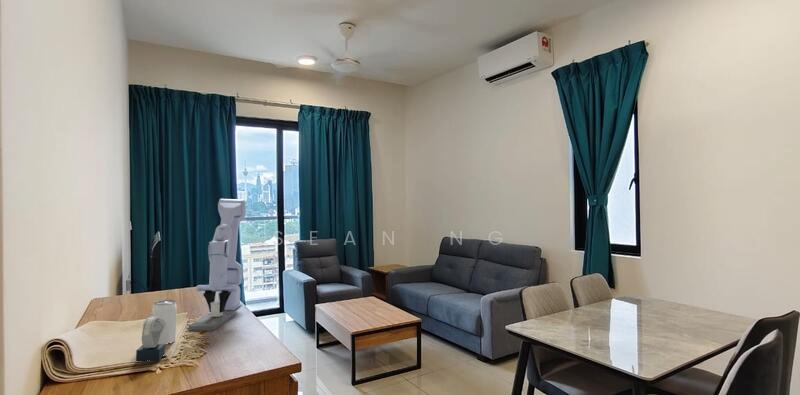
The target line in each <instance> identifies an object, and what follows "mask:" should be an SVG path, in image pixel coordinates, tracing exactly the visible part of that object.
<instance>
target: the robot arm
mask: <svg viewBox="0 0 800 395" xmlns="http://www.w3.org/2000/svg"><path fill="white" fill-rule="evenodd" d="M218 200H219V201H218V203H217V211H218V214H219V216H220V224H219V225H217V227H216V228H215V230H214V231H215V232H214V234H213V238H212V240H211V241H209V242H208V243H209V244H208V248H207V251H208V252H207V253H208V261H209V276H208V277H209V278H208V279H209V284H198V285H196V286H195V287H196V289H195V291H196V292H203V293H202V294H203V297H204V299H205V300H206V303H207V306H208V310H209V313H211V305H210V303H211V302H213V301H215V300H216V294H217V292H218V294H217V300H220V312H225V311H234V310H236V309H238V308H240V307H241V306H242V305H243V303H241V287H240V286H239V285H241V284H242V282H243V266H242V265H241V263H239V262H238V261H237V250H238V241H239V240H238V239H239V238H238V236H239V227H240V224H241V222H242V221H244V220H245V217H246V208H247V206H246V204H247V203H246V200H245V199H244V198H242V199H236V198H235V199H234V198H233V199H232V198H220V199H218ZM241 304H242V305H241Z"/></svg>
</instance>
